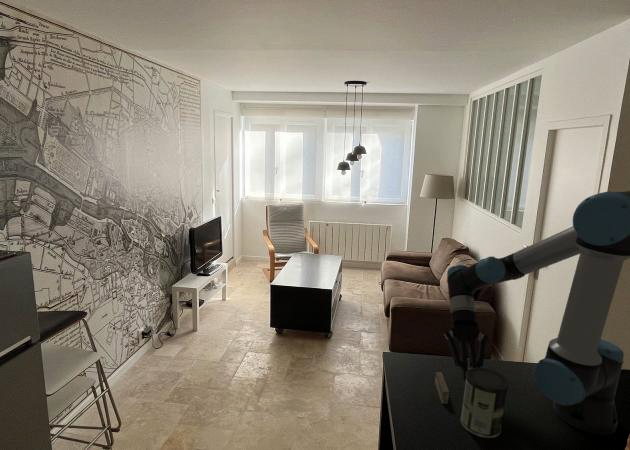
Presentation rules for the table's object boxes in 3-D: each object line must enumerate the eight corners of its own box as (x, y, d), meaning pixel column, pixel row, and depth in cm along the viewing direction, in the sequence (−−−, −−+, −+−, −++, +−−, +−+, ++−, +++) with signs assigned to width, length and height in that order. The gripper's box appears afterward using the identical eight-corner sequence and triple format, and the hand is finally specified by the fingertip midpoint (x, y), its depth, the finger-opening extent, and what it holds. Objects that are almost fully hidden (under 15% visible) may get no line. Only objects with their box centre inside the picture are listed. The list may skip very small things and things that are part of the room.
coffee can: (491, 413, 114) (498, 367, 111) (507, 439, 104) (516, 390, 101) (454, 411, 114) (460, 366, 111) (468, 437, 104) (475, 388, 101)
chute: (483, 387, 126) (484, 376, 125) (494, 408, 116) (496, 395, 115) (434, 383, 127) (436, 371, 126) (442, 403, 117) (443, 391, 116)
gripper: (480, 318, 129) (491, 397, 117) (439, 315, 130) (445, 393, 117) (488, 310, 123) (500, 392, 110) (444, 306, 124) (451, 387, 111)
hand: (472, 392), depth 114 cm, fingers closed
